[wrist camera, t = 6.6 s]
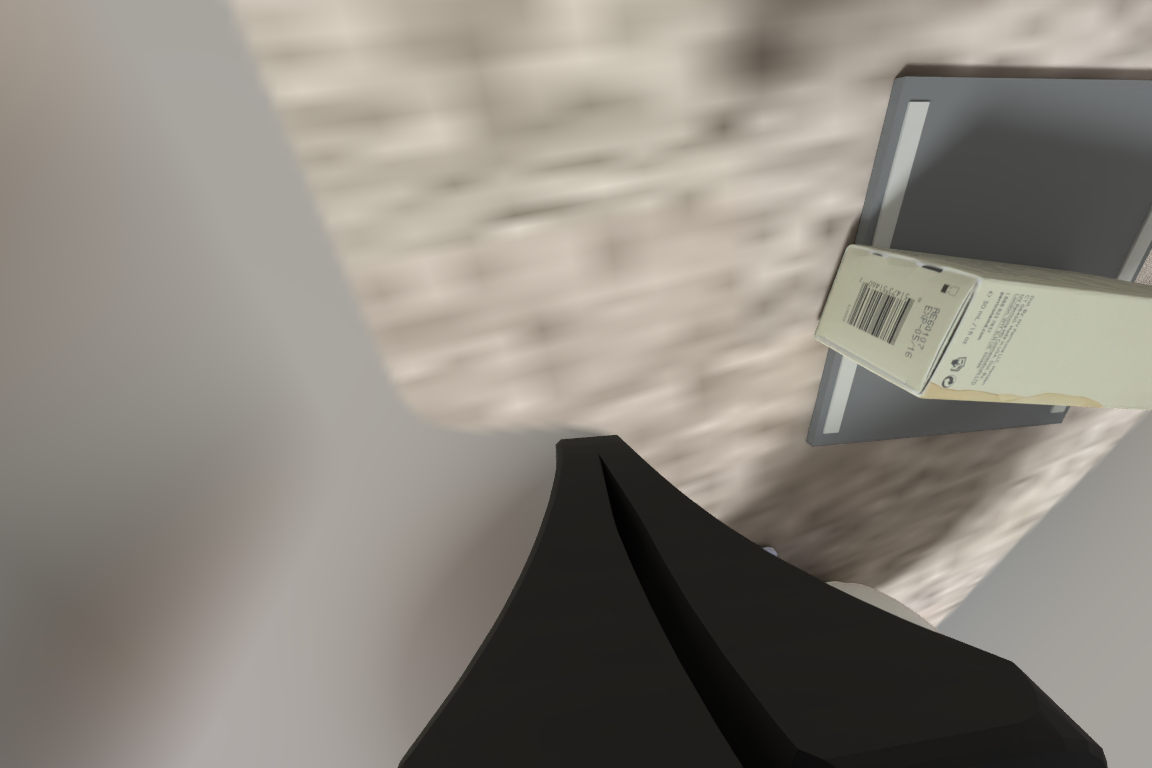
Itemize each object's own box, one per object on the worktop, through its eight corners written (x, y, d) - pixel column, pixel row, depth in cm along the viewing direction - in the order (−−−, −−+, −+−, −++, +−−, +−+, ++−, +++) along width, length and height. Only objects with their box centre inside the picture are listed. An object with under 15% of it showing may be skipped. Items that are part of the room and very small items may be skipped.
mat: (1051, 418, 26) (1063, 423, 25) (806, 441, 24) (813, 447, 23) (1220, 83, 19) (1241, 81, 18) (894, 78, 17) (907, 76, 17)
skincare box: (916, 401, 15) (1184, 422, 17) (985, 267, 13) (1276, 310, 16) (806, 336, 21) (1020, 358, 23) (845, 235, 19) (1074, 270, 21)
